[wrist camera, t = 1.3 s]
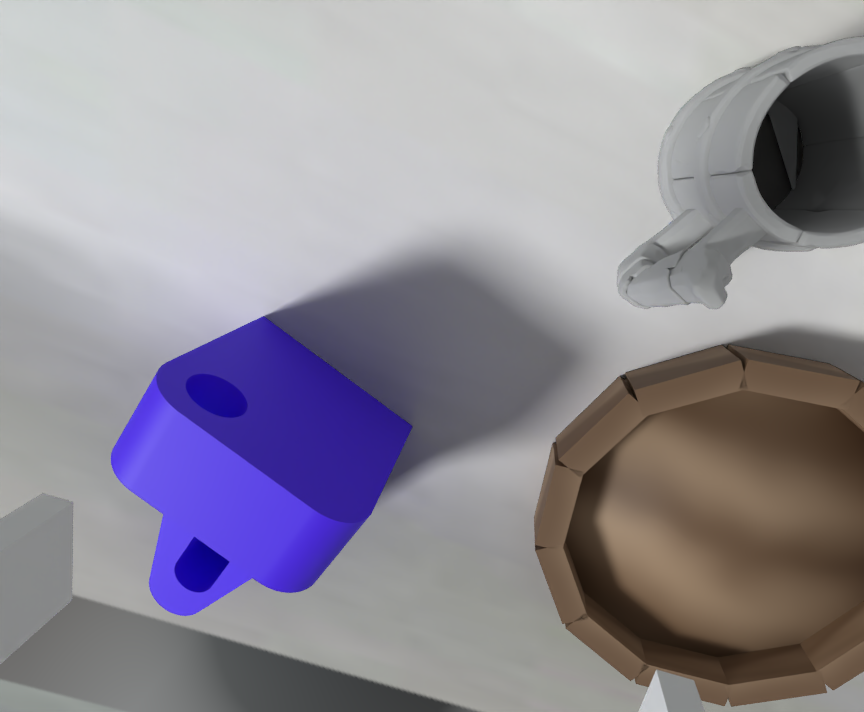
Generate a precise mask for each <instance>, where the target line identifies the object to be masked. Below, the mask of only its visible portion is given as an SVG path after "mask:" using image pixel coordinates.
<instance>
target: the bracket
mask: <svg viewBox="0 0 864 712" xmlns="http://www.w3.org/2000/svg"><path fill="white" fill-rule="evenodd" d="M412 427H413V426H411V425H410V424H409V423H407V422H406V421H405V420H403V419H402V418H400V417H399V416H398V415H396V414H395V413H394V412H392V411H391V410H390V409H388V408H387V407H386V406H384V405H383V404H382V403H380V402H379V401H377V400H376V399H375V398H373V397H372V396H371V395H369V394H368V393H367V392H365V391H364V390H363V389H361V388H360V387H359V386H357V385H356V384H355V383H353V382H352V381H350V380H349V379H348V378H346V377H345V376H344V375H342V374H341V373H340V372H338V371H337V370H336V369H334V368H333V367H332V366H330V365H329V364H327V363H326V362H325V361H323V360H322V359H321V358H319V357H318V356H317V355H315V354H314V353H313V352H311V351H310V350H309V349H307V348H306V347H304V346H303V345H302V344H300V343H299V342H298V341H296V340H295V339H294V338H292V337H291V336H290V335H288V334H287V333H286V332H284V331H283V330H282V329H280V328H279V327H277V326H276V325H275V324H273V323H272V322H271V321H269V320H268V319H267V318H265V317H264V316H263V317H261V318H259V319H257V320H255V321H252V322H250V323H248V324H246V325H244V326H242V327H240V328H238V329H236V330H234V331H232V332H229V333H227V334H225V335H223V336H221V337H219V338H217V339H215V340H213V341H211V342H208V343H206V344H204V345H202V346H200V347H198V348H196V349H194V350H192V351H190V352H188V353H185V354H183V355H181V356H179V357H177V358H175V359H173V360H171V361H169V362H167V363H165V364H163V365H162V366H161V367H160V368H159V370H158V372H157V373H156V375H155V377H154V378H153V380H152V382H151V384H150V385H149V387H148V389H147V391H146V392H145V394H144V396H143V398H142V399H141V401H140V403H139V405H138V406H137V408H136V410H135V412H134V413H133V415H132V417H131V419H130V420H129V422H128V424H127V425H126V427H125V429H124V431H123V432H122V434H121V436H120V438H119V439H118V441H117V443H116V445H115V446H114V448H113V450H112V454H111V464H112V468H113V471H114V473H115V475H116V476H117V478H118V479H119V480H120V482H121V483H122V484H123V485H124V486H125V487H126V488H128V489H129V490H130V491H131V492H133V493H134V494H136V495H137V496H138V497H140V498H141V499H143V500H144V501H145V502H147V503H148V504H150V505H151V506H152V507H154V508H155V509H157V510H158V511H159V512H161V513H162V514H163V519H162V523H161V528H160V533H159V537H158V542H157V546H156V551H155V556H154V560H153V565H152V570H151V574H150V579H149V587H150V591H151V593H152V595H153V597H154V599H155V600H156V601H157V603H158V604H159V605H160V606H162V607H163V608H164V609H166V610H167V611H169V612H171V613H174V614H177V615H182V616H188V615H193V614H196V613H197V612H199V611H201V610H202V609H204V608H205V607H207V606H209V605H210V604H212V603H213V602H215V601H216V600H218V599H220V598H221V597H223V596H224V595H226V594H228V593H229V592H231V591H232V590H234V589H236V588H237V587H239V586H240V585H242V584H243V583H245V582H247V581H248V580H250V579H251V578H253V579H255V580H256V581H258V582H259V583H261V584H262V585H264V586H266V587H268V588H270V589H273V590H276V591H280V592H288V593H292V592H300V591H303V590H305V589H307V588H309V587H310V586H312V585H313V584H314V583H315V582H316V580H317V579H318V578H319V577H320V575H321V574H322V573H323V572H324V571H325V569H326V568H327V567H328V566H329V565H330V563H331V562H332V561H333V560H334V558H335V557H336V556H337V555H338V554H339V552H340V551H341V550H342V549H343V547H344V546H345V545H346V544H347V543H348V541H349V540H350V539H351V538H352V536H353V535H354V534H355V533H356V532H357V530H358V529H359V528H360V527H361V525H362V524H363V523H364V522H365V521H366V519H367V518H368V517H369V516H370V515H371V513H372V511H373V509H374V507H375V505H376V503H377V500H378V498H379V496H380V494H381V492H382V490H383V488H384V486H385V484H386V481H387V479H388V477H389V475H390V473H391V471H392V469H393V467H394V465H395V463H396V460H397V458H398V456H399V454H400V452H401V450H402V448H403V446H404V444H405V441H406V439H407V437H408V435H409V433H410V431H411V429H412Z"/></svg>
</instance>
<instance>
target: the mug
mask: <svg viewBox="0 0 864 712" xmlns="http://www.w3.org/2000/svg"><path fill="white" fill-rule="evenodd" d="M767 112H768V113H769V116H770V119H771V122H772V125H773V129H774V132H775V135H776V138H777V142H778V145H779V148H780V151H781V154H782V158H783V161H784V164H785V167H786V170H787V174H788V177H789V180H790V183H791V186H792V190H791V191H790V193H789V194H788V195H787V197H786V198H785V199H784V200H783V201H782V202H781V203H780V204H778V205H777V206H776V207H775V210H771V209H770V208H769V206H768V205H767V204H766V202H765V201H764V199H763V198H762V196H761V194H760V192H759V190H758V187H757V184H756V181H755V178H754V175H753V172H752V171H751V170H752V168H753V153H754V146H755V141H756V137H757V134H758V131H759V128H760V126H761V123H762V121H763V119H764V117H765V115H766V113H767ZM797 124H798V126H799V129H800V132H801V136H802V143H803V145H806V146H804V147H803V163H802V167H801V171H800V174H799V177H798V179H797V181H796V162H797ZM658 182H659V188H660V192H661V195H662V198H663V201H664V204H665V206H666V208H667V209H668V211H669V213H670V214H671V217H672V218H673V221H672V222H671V223H670V224H669V225H667V226H666V227H665V228H664V229H663V230H661V231H660V232H659V233H657V234H656V235H655V236H654V237H652V238H651V239H649V240H648V241H646V242H645V243H643V244H642V245H640V246H639V247H638V248H637V249H636V250H635V251H634V252H633V253H632V254H631V255H629V256H628V257H627V258H626V259H625V260H624V261H623V262H622V263H621V264H620V265H619V267H618V276H617V287H618V293H619V295H620V296H621V297H622V298H624V299H625V300H626V301H628V302H629V303H631V304H632V305H633V306H636V307H640V308H644V309H648V308H650V307H668V306H673V305H688V304H690V303H701V304H704V305H705V306H706V307H707V308H709V309H719V308H720V307H721V306H722V305H723V304H724V303H725V301H726V298H727V293H726V291H725V288H724V287H725V286H726V285H727V284H728V283H729V282H730V281H731V279H732V272H731V267H730V265H731V263H732V262H733V261H734V260H735V259H736V258H737V257H738V256H739V255H741V254H742V253H743V252H744V251H746V250H747V249H749V248H750V247H756V248H760V249H765V250H772V251H786V252H803V251H811V250H814V249H816V248H840V247H847V246H852V245H857V244H860V243H863V242H864V36H861V37H852V38H846V39H841V40H837V41H834V42H830V43H827V44H824V45H818V46H804V47H800V46H795V47H792V48H789V49H786V50H783V51H781V52H778V53H777V54H776V55H775V56H773V57H771V58H769V59H768V60H766V61H764V62H763V63H761V64H759V65H757V66H755V67H754V68H741V69H738V70H735V71H734V72H733V73H731V74H728V75H726V76H723V77H721V78H719V79H717V80H715V81H714V82H712V83H710V84H709V85H707V86H706V87H704V88H703V89H702V90H701V91H699V92H698V93H696V94H695V95H694V96H693V97H692V98H691V99H690V100H689V101H688V102H687V103H686V104H685V105H684V106H683V107H682V108H681V109H680V110H679V111H678V113H677V114H676V116H675V117H674V119H673V120H672V122H671V124H670V126H669V127H668V129H667V130H666V132H665V134H664V137H663V141H662V144H661V148H660V152H659V158H658ZM699 239H701V240H700V241H699V242H698V243H696V244H695V245H694V246H693V247H692V248H690V249H689V250H687V249H688V248H689V247H690V246H692V245H693V244H694V243H695V242H697V241H698V240H699Z"/></svg>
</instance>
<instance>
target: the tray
mask: <svg viewBox="0 0 864 712" xmlns="http://www.w3.org/2000/svg"><path fill="white" fill-rule="evenodd" d="M625 375H626V379H625V380H623V379H622V378H621V377H620V376H619V377H618V378H617V379H616V380H615V381H614V382H613V383H612V384H611V385H610V386H609V387H608V388H607V389H606V390H605V391H603V392H602V393H601V394H600V395H599V396H598V397H597V398H596V399H595V400H594V401H593V402H592V403H591V404H590V405H589V406H588V407H587V408H586V409H585V410H584V411H583V412H582V413H581V414H580V415H579V416H578V417H577V418H576V419H575V420H574V421H573V422H571V423H570V424H569V425H568V426H567V427H566V428H565V429H564V430H563V431H562V432H561V433H560V434H559V435H558V436H557V437H556V443H553V444H552V448H551V452H550V456H549V460H548V464H547V468H546V472H545V476H544V480H543V484H542V488H541V492H540V496H539V500H538V504H537V508H536V512H535V516H534V527H535V551H536V554H537V556H538V559H539V562H540V564H541V567H542V570H543V572H544V575H545V578H546V581H547V583H548V586H549V589H550V591H551V594H552V597H553V599H554V602H555V605H556V608H557V610H558V613H559V616H560V618H561V621H562V624H565V626H566V629H567V630H568V631H570V632H571V633H572V634H573V635H575V636H576V637H577V638H578V639H580V640H581V641H582V642H583V643H584V644H586V645H587V646H588V647H589V648H591V649H592V650H593V651H594V652H595V653H597V654H598V655H599V656H600V657H602V658H603V659H604V660H605V661H606V662H608V663H609V664H610V665H611V666H613V667H614V668H615V669H616V670H618V671H619V672H620V673H621V674H622V675H624V676H625V677H626V678H627V679H629V680H630V681H631V680H633V679H634V678H635V682H636V684H639V685H643V686H647V687H649V686H650V683H651V681H652V679H653V676H654V674H655V671H656V670H660V671H663V672H667V673H670V674H674V675H677V676H681V677H684V678H688V679H691V680H694V682H695V685H696V687H697V690H698V693H699V696H700V699H701V700H702V701H706V702H710V703H714V704H718V705H722V706H725V704H726V702H727V699H728V700H729V702H730V705H731V707H732V706H739V705H746V704H753V703H760V702H766V701H773V700H780V699H787V698H794V697H801V696H808V695H815V694H822V693H827V691H826V687H825V684H826V685H827V686H828V687H830V688H831V689H832V690H835V689H836V688H838V687H840V686H841V685H843V684H844V683H846V682H847V681H849V680H851V679H852V678H854V677H855V676H857V675H859V674H860V673H862V672H863V671H864V382H862V381H860V380H858V379H857V378H855V377H853V376H851V375H849V374H848V373H846V372H844V371H842V370H841V369H839V368H837V367H834V366H832V365H831V364H828V363H823V362H818V361H813V360H807V359H802V358H797V357H792V356H786V355H781V354H776V353H771V352H765V351H760V350H755V349H750V348H744V347H739V346H734V345H728V348H727V349H726V348H725V347H723V346H722V345H719V346H716V347H712V348H709V349H705V350H702V351H699V352H695V353H692V354H688V355H685V356H681V357H678V358H674V359H671V360H668V361H664V362H661V363H657V364H654V365H650V366H647V367H644V368H640V369H637V370H633V371H630V372H626V373H625Z"/></svg>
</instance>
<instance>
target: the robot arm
mask: <svg viewBox="0 0 864 712" xmlns="http://www.w3.org/2000/svg"><path fill="white" fill-rule="evenodd" d="M72 564H73V502H72V501H69V500H65V499H62V498H58V497H55V496H51V495H48V494H44V493H42V494H40V495H39V496H37V497H36V498H34V499H32V500H31V501H29V502H27V503H26V504H24V505H23V506H21V507H19V508H18V509H16V510H15V511H13V512H11V513H10V514H8V515H6V516H5V517H3V518H2V519H0V664H1V663H2V662H3V661H4V660H6V659H7V658H8V657H9V656H10V655H11V654H12V653H13V652H14V651H15V650H17V649H18V648H19V647H20V646H21V645H22V644H23V643H25V642H26V640H28V639H29V638H30V637H31V636H32V635H33V634H35V632H37V631H38V630H39V629H40V628H41V627H42V626H43V625H44V624H46V623H47V622H48V621H49V620H50V619H51V618H52V617H54V616H55V615H56V614H57V613H58V612H59V611H60V610H61V609H62V608H64V607H65V606H66V605H67V604H68V603H69V602H70V601H71V600H72ZM639 712H705V710H704V707H703V705H702V702H701V699H700V696H699V693H698V690H697V687H696V685H695V682H694V680H691V679H688V678H684V677H681V676H677V675H674V674H670V673H667V672H663V671H660V670H656V671H655V674H654V676H653V679H652V681H651V683H650V686H649V688H648V691H647V693H646V695H645V698H644V700H643V702H642V705H641V707H640V710H639Z"/></svg>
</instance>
